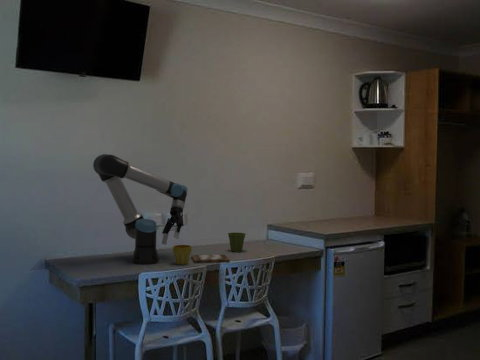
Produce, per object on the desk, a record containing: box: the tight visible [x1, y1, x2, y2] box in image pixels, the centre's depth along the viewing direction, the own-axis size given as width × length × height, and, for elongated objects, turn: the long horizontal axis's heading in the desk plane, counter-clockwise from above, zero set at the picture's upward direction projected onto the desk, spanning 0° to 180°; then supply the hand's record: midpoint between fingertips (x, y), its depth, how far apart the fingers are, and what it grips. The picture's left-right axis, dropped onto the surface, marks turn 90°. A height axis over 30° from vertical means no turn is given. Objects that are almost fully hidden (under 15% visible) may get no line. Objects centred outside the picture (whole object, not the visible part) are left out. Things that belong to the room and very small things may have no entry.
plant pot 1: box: [172, 244, 193, 265], centre depth 285 cm, size 10×10×10 cm
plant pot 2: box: [227, 231, 247, 253], centre depth 327 cm, size 12×12×11 cm
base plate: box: [191, 254, 231, 264], centre depth 296 cm, size 20×16×2 cm
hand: (169, 240), depth 295 cm, fingers open, 13 cm apart
